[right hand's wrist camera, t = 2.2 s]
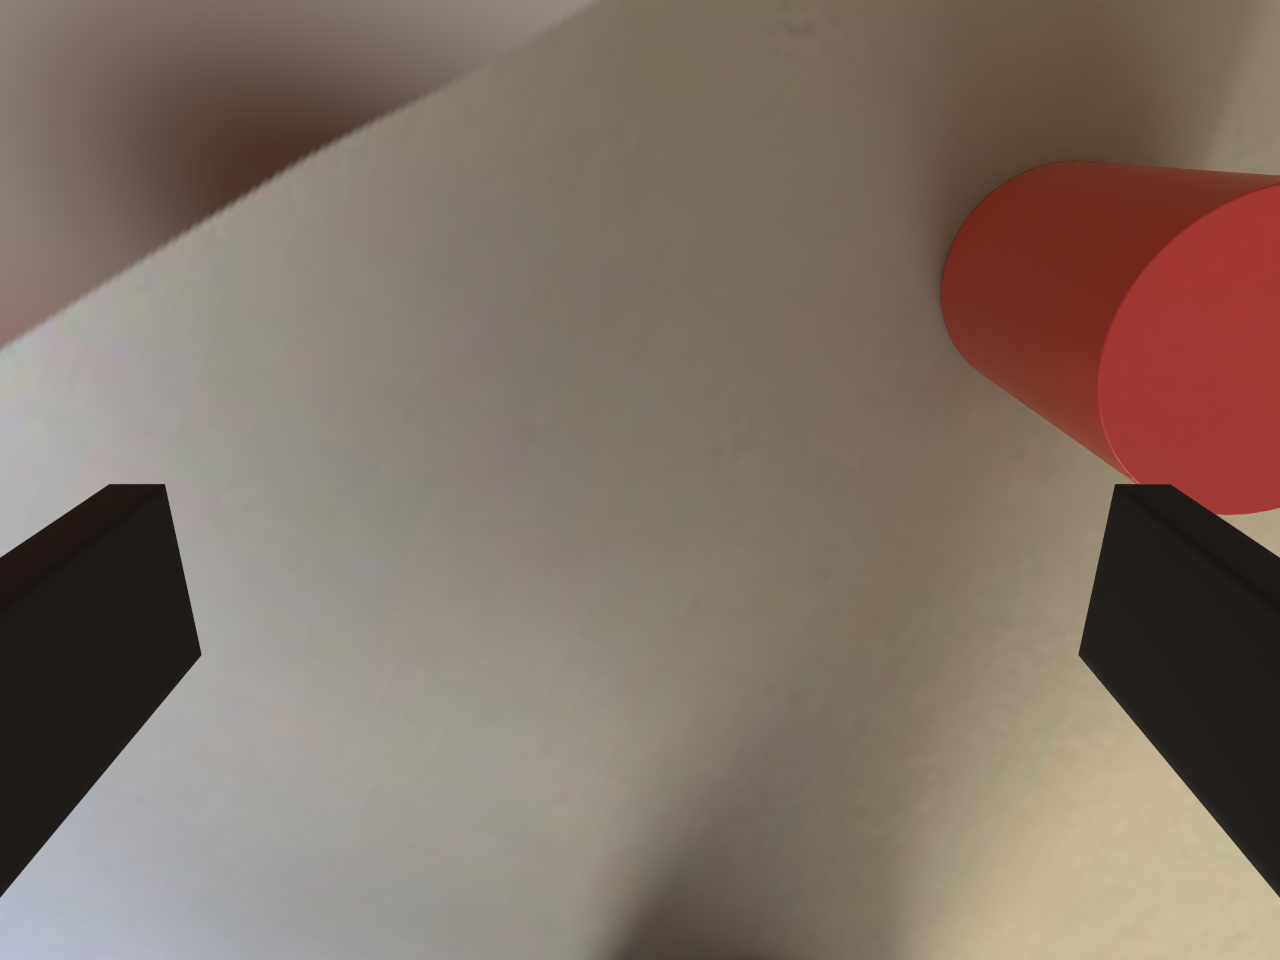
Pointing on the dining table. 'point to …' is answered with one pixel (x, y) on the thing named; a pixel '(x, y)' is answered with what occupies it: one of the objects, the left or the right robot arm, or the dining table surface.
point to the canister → (1134, 318)
